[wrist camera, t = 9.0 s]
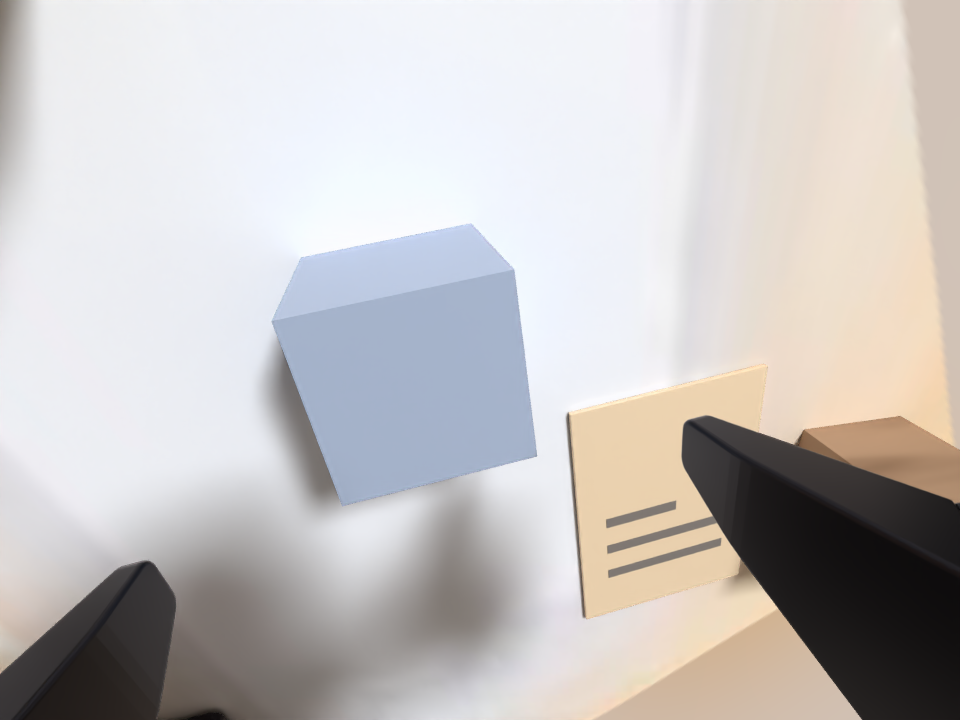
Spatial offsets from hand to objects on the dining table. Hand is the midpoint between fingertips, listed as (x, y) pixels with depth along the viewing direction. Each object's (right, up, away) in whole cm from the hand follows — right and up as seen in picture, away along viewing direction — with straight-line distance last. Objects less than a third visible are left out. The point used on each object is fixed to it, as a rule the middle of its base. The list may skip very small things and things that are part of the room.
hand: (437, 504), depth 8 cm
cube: (-2, +4, +7) cm, 8 cm away
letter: (+9, -4, +13) cm, 16 cm away
